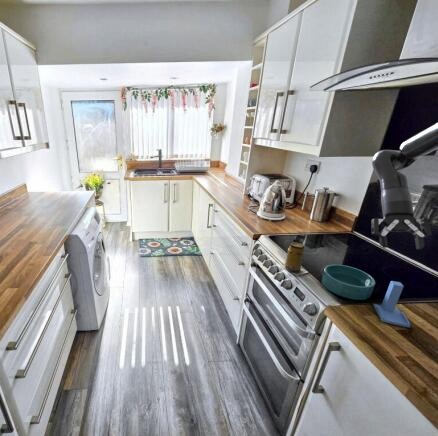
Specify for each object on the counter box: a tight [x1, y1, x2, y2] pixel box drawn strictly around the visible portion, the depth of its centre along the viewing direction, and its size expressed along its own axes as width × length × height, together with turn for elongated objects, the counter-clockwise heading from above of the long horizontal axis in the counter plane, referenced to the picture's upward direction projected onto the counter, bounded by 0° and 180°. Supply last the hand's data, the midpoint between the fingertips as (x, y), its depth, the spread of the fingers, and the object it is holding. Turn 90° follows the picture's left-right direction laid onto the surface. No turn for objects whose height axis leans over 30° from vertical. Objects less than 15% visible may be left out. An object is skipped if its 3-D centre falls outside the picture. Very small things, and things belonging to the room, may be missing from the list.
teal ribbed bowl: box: [321, 263, 376, 301], centre depth 93 cm, size 15×15×6 cm
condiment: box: [280, 241, 309, 276], centre depth 105 cm, size 7×8×12 cm
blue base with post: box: [373, 280, 411, 329], centre depth 78 cm, size 8×7×11 cm
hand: (401, 248), depth 81 cm, fingers open, 8 cm apart
